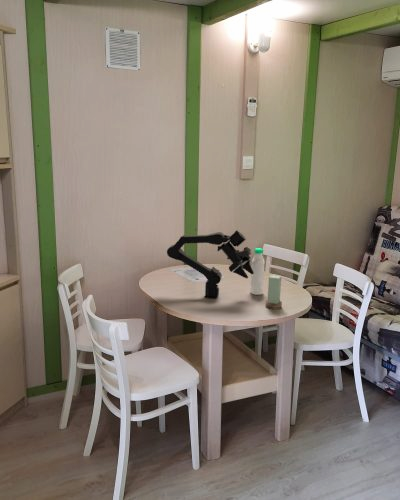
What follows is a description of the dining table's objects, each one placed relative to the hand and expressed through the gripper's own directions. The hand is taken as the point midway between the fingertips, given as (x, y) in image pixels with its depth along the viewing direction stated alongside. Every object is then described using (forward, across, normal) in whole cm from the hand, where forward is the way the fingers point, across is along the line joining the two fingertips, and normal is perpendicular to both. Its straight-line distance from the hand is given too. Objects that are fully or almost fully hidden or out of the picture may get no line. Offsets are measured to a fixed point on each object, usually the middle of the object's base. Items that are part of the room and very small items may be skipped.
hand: (250, 275), depth 242 cm
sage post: (+17, -2, -2) cm, 18 cm away
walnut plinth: (+19, -2, 0) cm, 19 cm away
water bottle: (+9, +15, +10) cm, 21 cm away
